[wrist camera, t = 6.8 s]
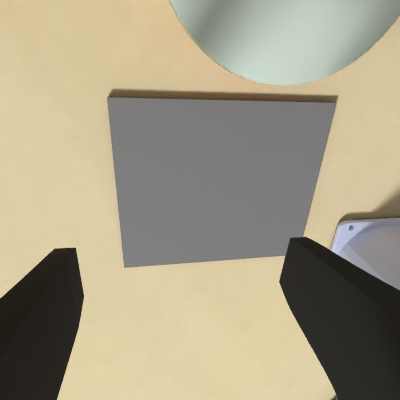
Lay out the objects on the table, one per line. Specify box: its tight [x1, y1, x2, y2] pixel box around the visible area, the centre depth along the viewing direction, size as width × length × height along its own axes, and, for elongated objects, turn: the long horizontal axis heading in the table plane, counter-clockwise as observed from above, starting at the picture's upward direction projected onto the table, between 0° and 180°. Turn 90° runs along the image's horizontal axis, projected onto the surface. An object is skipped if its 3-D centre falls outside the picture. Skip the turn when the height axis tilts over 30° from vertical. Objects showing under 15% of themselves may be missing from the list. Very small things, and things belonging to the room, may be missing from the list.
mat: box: [107, 97, 336, 268], centre depth 19 cm, size 14×12×1 cm
